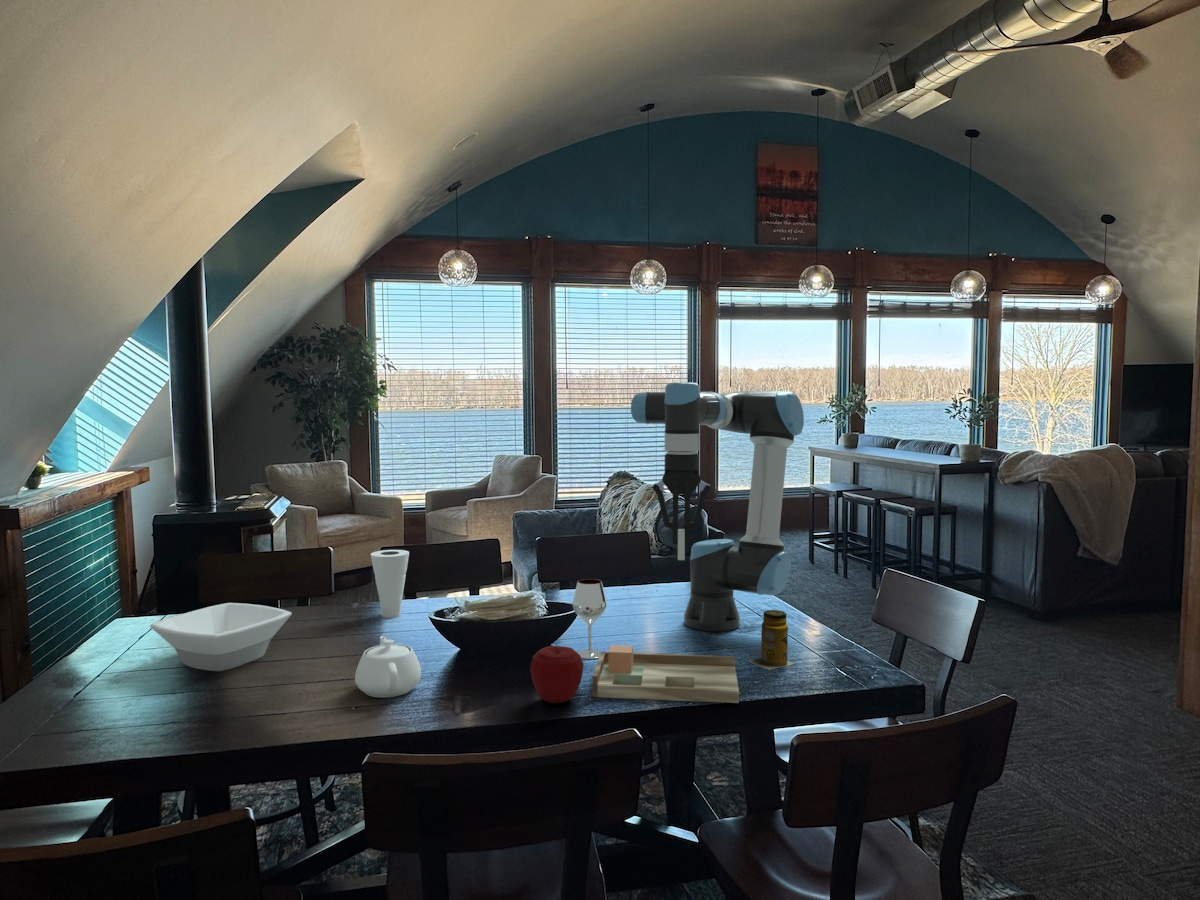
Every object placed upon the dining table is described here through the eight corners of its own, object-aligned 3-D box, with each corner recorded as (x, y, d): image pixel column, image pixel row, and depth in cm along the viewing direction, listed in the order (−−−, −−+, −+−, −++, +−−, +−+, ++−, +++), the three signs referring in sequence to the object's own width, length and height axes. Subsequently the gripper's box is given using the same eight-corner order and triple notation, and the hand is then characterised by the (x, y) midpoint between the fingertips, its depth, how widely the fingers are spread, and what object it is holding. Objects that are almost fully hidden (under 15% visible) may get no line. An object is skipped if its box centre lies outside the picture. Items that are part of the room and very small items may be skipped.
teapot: (428, 702, 163) (428, 651, 162) (359, 712, 158) (358, 659, 157) (413, 668, 183) (412, 622, 183) (351, 676, 179) (350, 629, 178)
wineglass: (611, 651, 196) (611, 579, 194) (600, 662, 188) (600, 586, 187) (579, 648, 198) (579, 576, 197) (567, 658, 191) (567, 584, 189)
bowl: (302, 651, 196) (301, 610, 195) (214, 684, 173) (213, 638, 173) (232, 639, 206) (230, 600, 206) (140, 669, 184) (138, 625, 183)
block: (610, 664, 178) (610, 645, 178) (633, 665, 178) (633, 645, 178) (608, 672, 173) (608, 652, 173) (631, 673, 173) (631, 652, 173)
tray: (601, 671, 182) (601, 651, 181) (734, 676, 178) (734, 656, 178) (592, 697, 166) (592, 675, 166) (738, 703, 162) (739, 681, 162)
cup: (404, 620, 223) (403, 556, 222) (367, 620, 223) (365, 556, 222) (414, 610, 234) (413, 549, 233) (378, 610, 234) (376, 549, 233)
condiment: (795, 664, 187) (796, 613, 186) (769, 671, 182) (770, 619, 181) (772, 655, 193) (773, 606, 192) (746, 662, 188) (747, 612, 187)
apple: (540, 714, 157) (539, 656, 156) (523, 696, 166) (522, 641, 166) (591, 706, 161) (591, 649, 160) (572, 688, 171) (572, 634, 170)
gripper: (711, 451, 178) (710, 556, 180) (652, 451, 180) (652, 555, 181) (712, 454, 171) (711, 563, 173) (651, 453, 173) (650, 561, 174)
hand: (681, 558), depth 177 cm, fingers closed
